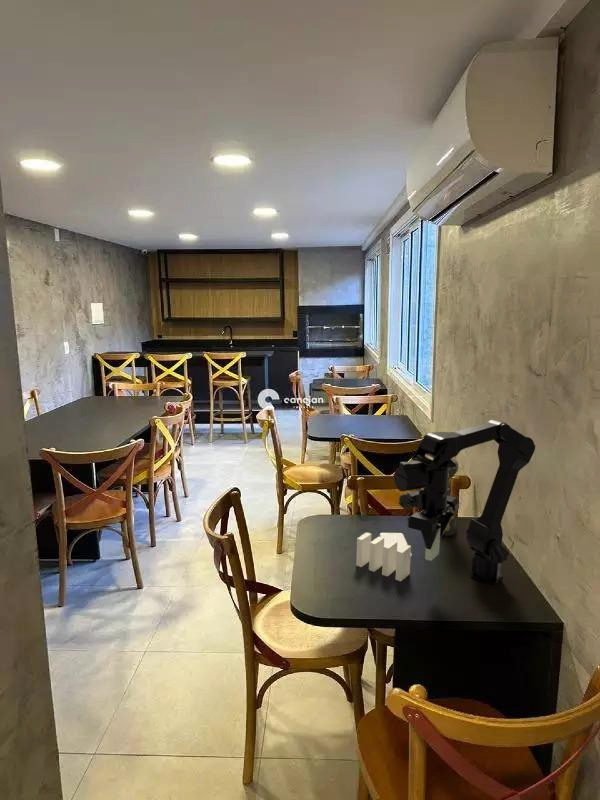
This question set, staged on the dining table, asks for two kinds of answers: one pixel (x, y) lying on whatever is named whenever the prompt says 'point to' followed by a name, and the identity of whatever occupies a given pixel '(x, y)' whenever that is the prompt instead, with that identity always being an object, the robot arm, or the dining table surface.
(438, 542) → the tile
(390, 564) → the tile
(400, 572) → the tile
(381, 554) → the tile
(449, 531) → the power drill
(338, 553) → the dining table surface
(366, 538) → the tile
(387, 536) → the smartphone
